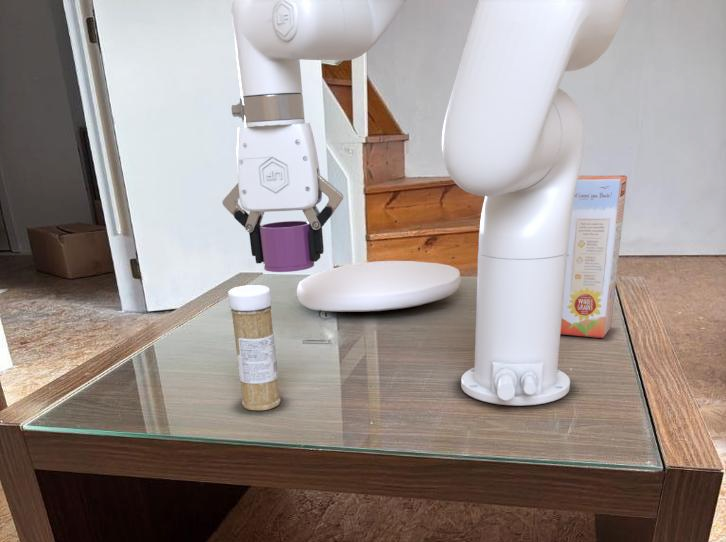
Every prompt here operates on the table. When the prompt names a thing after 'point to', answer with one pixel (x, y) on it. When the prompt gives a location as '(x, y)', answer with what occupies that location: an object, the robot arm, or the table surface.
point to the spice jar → (255, 346)
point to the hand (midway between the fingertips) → (288, 259)
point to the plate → (378, 286)
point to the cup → (285, 246)
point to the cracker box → (593, 255)
